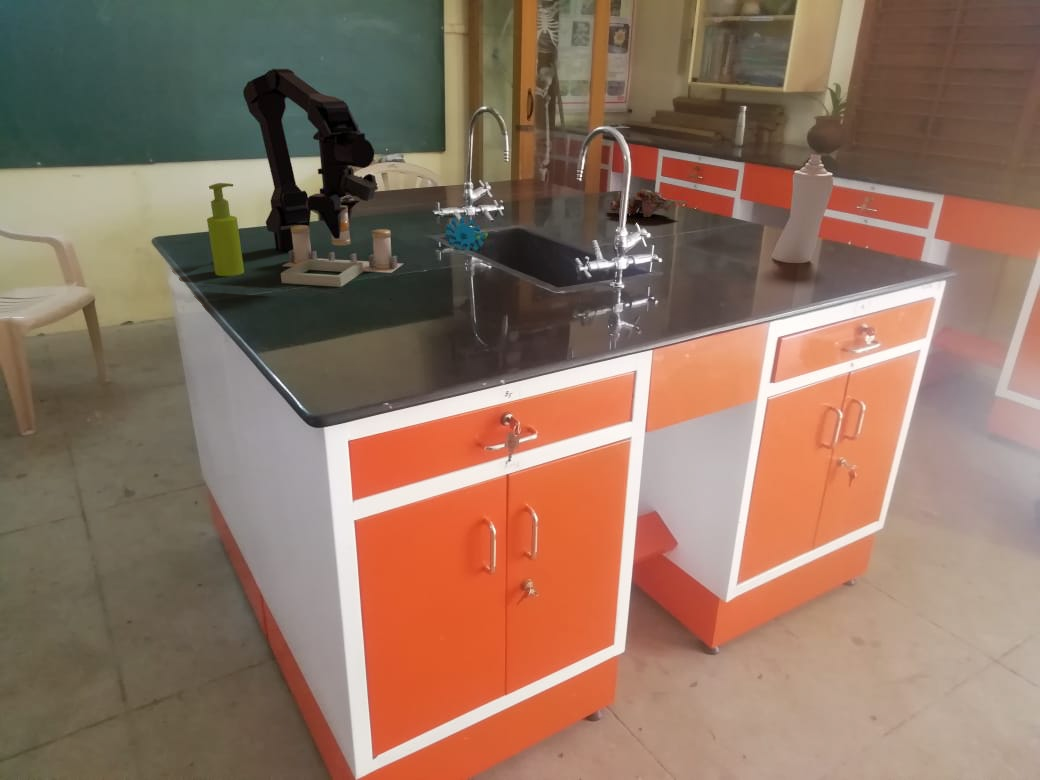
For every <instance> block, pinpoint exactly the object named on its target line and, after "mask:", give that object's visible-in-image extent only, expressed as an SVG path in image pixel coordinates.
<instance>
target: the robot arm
mask: <svg viewBox="0 0 1040 780" xmlns="http://www.w3.org/2000/svg"><path fill="white" fill-rule="evenodd" d="M242 93H243V97H244V101H245V103H246V105H247V109H248V111H249V113H250V114H251V116H252V117H254V119H255V120H256V121H257V122H258V123H259V127H260V131H261V136H262V139H263V143H264V148H265V153H266V156H267V161H268V165H269V170H270V174H271V178H272V182H273V183H272V184H273V188H274V189H273V191H272V194H271V198H270V206H271V207H270V208H271V210H270V212H269V215H267V219H266V221H265V226H266V228H267V231H268V232H271V233H273V237H274V244H275V245H274V246H275V251H278V252H282V253H288V252H289V251H291V250H293V241H292V232H291V227H292V226H296V225H307V226H309V227H310V223H311V222H310V221H311V214H312V213H311V212H312V211H316V212H318V213H319V215H320V217H321V218H322V220H323V221H324V223H325V224H326V226H327V228H328V230H329V232H330V233H331V236H332V235H333V237H334V238H336V239H338V238H340V221H341V214H342V212H343V211H344V210H345V209H346V207H341V205H344V206H348V220H349V223H350V221H351V217H352V212H353V209H354V208H355V207H356V206H357V205H359V204H360V202H361V201H364V202H368V201H370V200H371V199H374V196H375V192H376V191H377V190H378V189H379V187H378V183H377V180H376V176H375V175H373V174H371V173H367V174H366V175H364V176H361V175H360V176H358V175H355V171H354V168H353V167H355V168H361V169H365V168H368V167H369V166H371V164H372V163H373V161H374V159H375V149H374V148H373V145H372V143H371V142H370V141H369V140H367V139H366V136H365V135H366V134H365V132H361V131H360V129H359V125H358V124H357V122H356V121H355V118H354V116H353V114H352V112H351V110H350V107H349V105H348V104H347V103H346V102H345V100H343V99H340V98H337V97H335V96H331V95H325V94H322V93H320V92H319V91H318V90H317V89H315V88H314V87H312V86H311V85H309V84H308V83H306V81H304V80H303V79H301V78H300V77H298V76H297V75H296V74H295V73H294V71H293V70H292V69H289V68H272V69H269V70H268V71H267V72H266V73H265V74H262V75H261V76H258V77H256V78H253V79H251V80H250V81H249V80H248V82H247V83H246V86H244V88H243V92H242ZM287 98H288V99H289V100H290V101H292V102H293V103H294V104H296V105H297V106H298V107H300V108H301V109H302V110H304V111H305V112H306V115H307V120H308V121H309V122H310V123H311V124H312V125H313V127H314V128H316V130H317V132H316V133H314V135H313V137H312V138H313V140H314V141H318V147H319V157H320V158H319V159H320V167H319V168H318V169H317V175H321V179H322V181H321V182H322V187H321V188H320V189H319V193H314V194H312V195H309V196H308V193H307V192H306V190H301V189H300V188H299V186H298V184H297V183H296V179H295V174H294V168H293V165H292V161H291V156H290V151H289V149H288V144H287V143H288V142H287V138H286V133H285V130H284V126H283V117H284V114H285V112H286V109H287V106H286V105H287V104H286V99H287ZM355 197H356V198H359V199H360V200H361V201H360V200H355V199H354V198H355Z"/></svg>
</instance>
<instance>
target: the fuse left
mask: <svg viewBox="0 0 1040 780" xmlns="http://www.w3.org/2000/svg"><path fill="white" fill-rule="evenodd" d="M291 232H292V241H293V250H294V263H295V264H298V263H300V262H302V261H304V260H306V259H311V257H310V253H311V252H312V247H311V236H310V225H309V226H307V225H296V226H292V227H291Z"/></svg>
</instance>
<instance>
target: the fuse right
mask: <svg viewBox="0 0 1040 780" xmlns="http://www.w3.org/2000/svg"><path fill="white" fill-rule="evenodd" d="M391 232H392V231H391V230H390V229H386V228H385V229H383V228H382V229H381V228H378V229H374V230H372V231H371V237H372V248H373V254H374V268H375V269H382V270H383V269H390V268H392V264H391V257H392V245H391V244H392V243H391V240H392V239H391Z"/></svg>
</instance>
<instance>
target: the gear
mask: <svg viewBox="0 0 1040 780" xmlns="http://www.w3.org/2000/svg"><path fill="white" fill-rule="evenodd" d="M465 222H466V217H460V218H459V223H460V224H459V225H458V224H457V223H458V219H457V218H452V219H451V223H450V222H449V223H448V224H446V227H445V228H446V229H447V230H446V232H444V233H445V235H444V237H446V238H449V239H448V242H447V243H448V245H450V246H452V245H454V244H456V245H455V248H454V249H455V250H456V251H460V250H462V249H461V248H462V247H464V246H465V247H464V251H471V250H472V251H474V252H475V251H478V250H479V247H482V246H483V245H484V239H485V240H486V239H487V237H488V236H489V233H488V232H484V233H480V232H481V230H482V228H481V226H480V225H476V226H474V225H475V221H474V220H473V219H469V220H468V223H467V224H464V223H465ZM453 226H454V228H453ZM472 226H473V227H472ZM470 246H472V248H471V249H470Z"/></svg>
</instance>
